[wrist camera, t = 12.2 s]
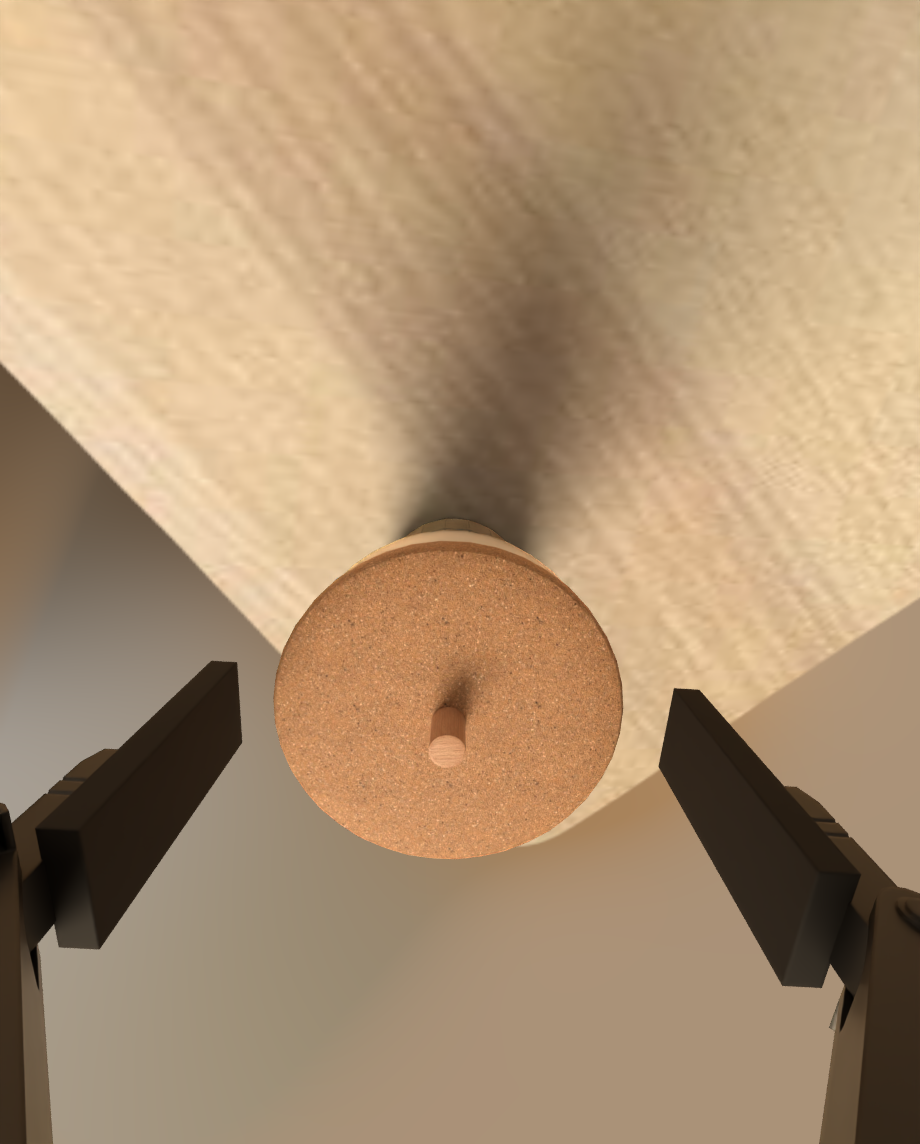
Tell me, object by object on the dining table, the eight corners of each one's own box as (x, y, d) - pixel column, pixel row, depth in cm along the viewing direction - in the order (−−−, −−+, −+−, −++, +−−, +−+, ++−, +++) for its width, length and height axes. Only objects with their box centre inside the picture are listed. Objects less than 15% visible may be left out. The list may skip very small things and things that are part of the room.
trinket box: (569, 726, 25) (634, 900, 16) (344, 734, 25) (278, 912, 16) (574, 500, 22) (655, 554, 13) (318, 511, 22) (220, 571, 13)
